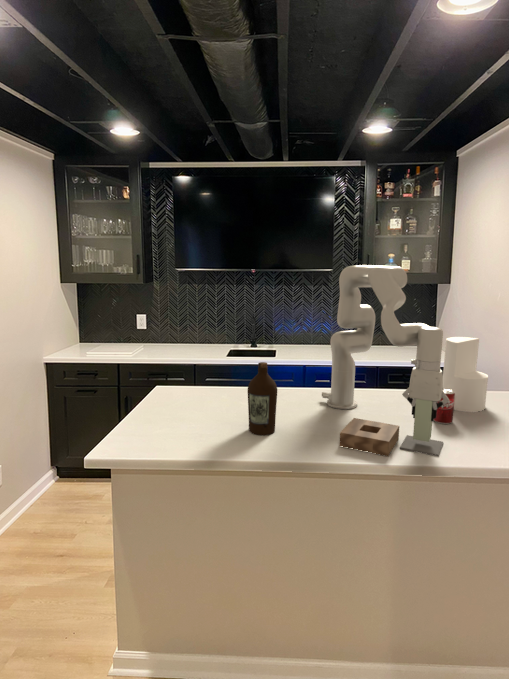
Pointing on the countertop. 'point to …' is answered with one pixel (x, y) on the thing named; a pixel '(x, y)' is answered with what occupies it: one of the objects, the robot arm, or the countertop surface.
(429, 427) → the peg
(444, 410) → the soda can
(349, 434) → the pocket block
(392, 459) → the countertop surface
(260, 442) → the countertop surface
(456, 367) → the white stepped tower
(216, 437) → the countertop surface
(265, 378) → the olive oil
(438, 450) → the mat
